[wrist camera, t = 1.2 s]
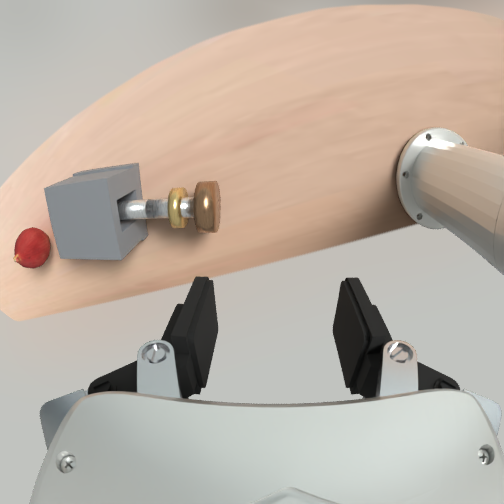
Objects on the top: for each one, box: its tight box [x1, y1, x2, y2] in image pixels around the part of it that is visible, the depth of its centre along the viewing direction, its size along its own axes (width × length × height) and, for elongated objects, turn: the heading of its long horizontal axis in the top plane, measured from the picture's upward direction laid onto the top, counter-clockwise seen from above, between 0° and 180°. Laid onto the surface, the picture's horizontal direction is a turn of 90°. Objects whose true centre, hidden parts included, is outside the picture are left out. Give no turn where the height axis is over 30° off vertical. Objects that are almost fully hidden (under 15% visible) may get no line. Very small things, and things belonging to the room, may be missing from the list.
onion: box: [13, 227, 50, 268], centre depth 30 cm, size 6×6×8 cm
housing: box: [44, 163, 148, 260], centre depth 28 cm, size 9×9×7 cm
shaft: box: [117, 181, 221, 233], centre depth 27 cm, size 13×5×5 cm, turn 91°
